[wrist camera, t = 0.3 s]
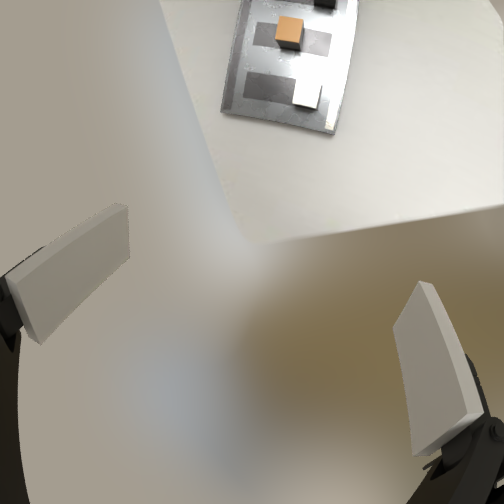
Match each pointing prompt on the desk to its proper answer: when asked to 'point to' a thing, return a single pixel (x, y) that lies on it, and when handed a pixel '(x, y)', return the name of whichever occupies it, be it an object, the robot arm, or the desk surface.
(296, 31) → the toggle
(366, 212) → the desk surface
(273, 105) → the panel
